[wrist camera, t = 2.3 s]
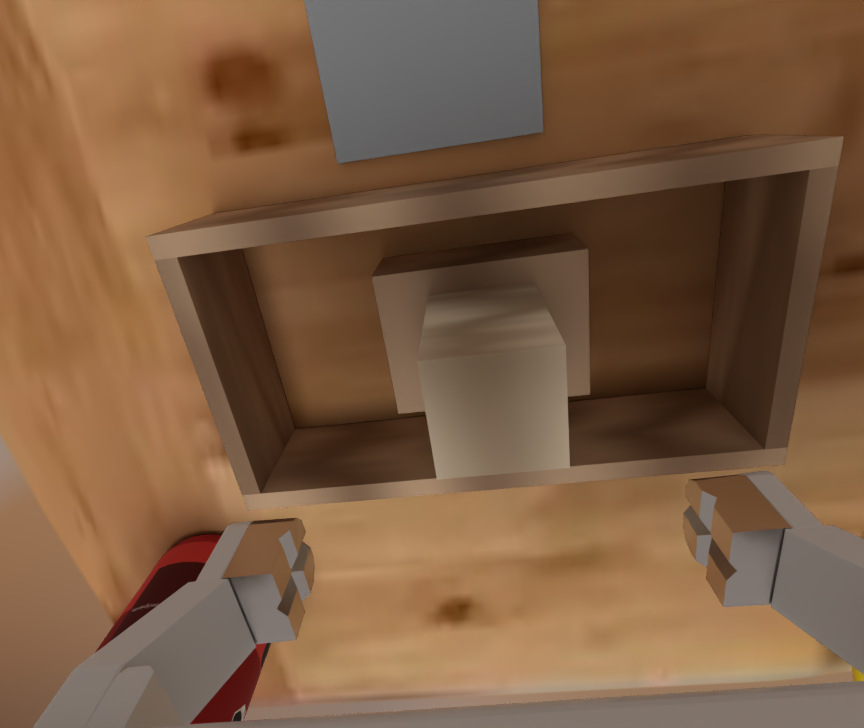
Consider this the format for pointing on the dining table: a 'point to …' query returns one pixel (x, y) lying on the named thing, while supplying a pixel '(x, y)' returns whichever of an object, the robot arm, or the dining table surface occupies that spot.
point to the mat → (426, 72)
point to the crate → (564, 298)
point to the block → (494, 383)
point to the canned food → (164, 582)
